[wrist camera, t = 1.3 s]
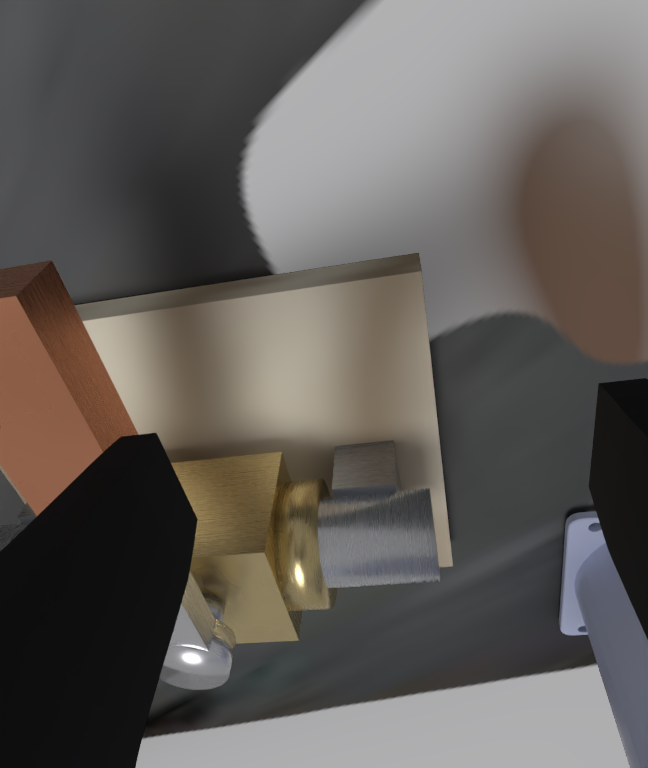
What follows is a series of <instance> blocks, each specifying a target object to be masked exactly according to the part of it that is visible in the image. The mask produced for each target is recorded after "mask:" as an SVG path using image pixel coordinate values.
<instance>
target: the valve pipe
mask: <svg viewBox="0 0 648 768" xmlns="http://www.w3.org/2000/svg"><path fill="white" fill-rule="evenodd" d="M171 464H172V466H173V469H174V471H175V473H176V475H177V477H178V479H179V481H180V483H181V485H182V488H183V490H184V492H185V494H186V496H187V498H188V500H189V502H190V504H191V506H192V509H193V511H194V513H195V515H196V517H197V519H198V520H197V527H196V534H195V541H194V548H193V555H192V560H191V566H190V572H191V574H192V576H193V578H194V579H195V581H196V583H197V585H198V587H199V589H200V591H201V593H202V595H203V597H204V598H205V600H206V602H207V604H208V606H209V608H210V610H211V612H212V614H213V616H214V618H215V619H217V620H220V621H221V622H223V623H225V624H226V625H227V626H229V627H230V628H231V629H232V631H233V632H234V634H235V636H236V643H256V642H278V641H299V636H300V626H301V616H302V610H319V609H332V608H333V606H334V604H335V600H336V595H337V588H341V587H357V586H374V585H390V584H406V583H423V582H439V581H440V571H439V562H438V553H437V544H436V536H435V527H434V519H433V510H432V502H431V494H430V488H422V489H410V490H402V487H401V481H400V475H399V469H398V463H397V457H396V451H395V445H394V440H390V441H380V442H370V443H360V444H350V445H340V446H335V453H334V467H333V481H332V492H333V495H334V496H330V492H329V489H328V486H327V484H326V482H325V480H324V479H322V478H319V479H308V480H298V481H291V479H290V476H289V473H288V469H287V466H286V463H285V460H284V457H283V454H282V452H275V453H265V454H255V455H245V456H235V457H226V458H216V459H206V460H196V461H186V462H176V463H171ZM36 517H37V516H36V514H35V513H34V511H33V510H32V509H31V507H30V506H29V504H28V503H26V505H25V507H24V508H23V510H22V511H21V513H20V515H19V516H18V518H19V520H20V521H21V522H22V523H21V524H9V525H0V551H1V550H2V549H3V548H4V547H5V546H7V545H8V544H9V543H10V542H11V541H12V540H13V539H14V538H15V537H16V536H17V535H18V534H19V533H20V532H21V531H22V530H23V529H24V528H25V527H26V526H27V525H29V524H30V523H31V522H32V521H33V520H34V519H35V518H36Z"/></svg>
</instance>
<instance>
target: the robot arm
mask: <svg viewBox="0 0 648 768" xmlns="http://www.w3.org/2000/svg"><path fill="white" fill-rule="evenodd" d="M589 489H590V492H591V495H592V499H593V502H594V506H595V509H596V511H592V512H579V513H575V514H572V515H570V516H569V517H568V518H567V520H566V524H565V539H564V554H563V568H562V583H561V598H560V613H559V626H560V629H561V632H562V633H564V634H566V635H588V636H589V639H590V642H591V645H592V649H593V652H594V655H595V658H596V661H597V664H598V667H599V671H600V674H601V677H602V680H603V683H604V686H605V689H606V692H607V696H608V699H609V702H610V705H611V708H612V712H613V715H614V718H615V721H616V724H617V727H618V730H619V734H620V737H621V740H622V743H623V746H624V750H625V753H626V756H627V759H628V762H629V765H630V768H648V379H646V378H644V379H635V380H626V381H617V382H608V383H599V387H598V397H597V407H596V418H595V428H594V438H593V449H592V459H591V469H590V480H589ZM197 520H198V519H197V517H196V515H195V513H194V511H193V509H192V506H191V504H190V502H189V500H188V498H187V496H186V494H185V492H184V490H183V488H182V485H181V483H180V481H179V479H178V477H177V475H176V473H175V471H174V469H173V466H172V464H171V462H170V460H169V458H168V456H167V454H166V452H165V450H164V447H163V445H162V443H161V441H160V439H159V437H158V435H157V433H149V434H140V435H131V436H122V437H120V438H119V439H118V440H116V441H115V442H114V443H113V444H112V445H111V446H109V447H108V448H107V449H106V450H105V451H104V452H103V453H102V454H101V455H100V456H99V457H98V458H96V459H95V460H94V461H93V462H92V463H91V464H90V465H89V466H88V467H87V468H86V469H85V470H84V471H83V472H82V473H81V474H80V475H79V476H78V477H77V478H76V479H75V480H74V481H73V482H72V483H71V484H70V485H69V486H68V487H67V488H66V489H65V490H64V491H63V492H61V493H60V494H59V495H58V496H57V497H56V498H55V499H54V500H53V501H52V502H51V503H50V504H49V505H48V506H47V507H46V508H45V509H44V510H43V511H42V512H41V513H40V514H39V515H38V516H37V517H36V518H35V519H34V520H33V521H32V522H31V523H30V524H29V525H27V526H26V527H25V528H24V529H23V530H22V531H21V532H20V533H19V534H18V535H17V536H16V537H15V538H14V539H13V540H12V541H11V542H10V543H9V544H8V545H7V546H5V547H4V548H3V549H2V550H1V551H0V768H135V766H136V761H137V756H138V752H139V748H140V744H141V740H142V737H143V733H144V729H145V725H146V721H147V718H148V714H149V711H150V708H151V704H152V701H153V697H154V694H155V691H156V687H157V684H158V681H159V677H160V674H161V671H162V667H163V664H164V661H165V657H166V654H167V651H168V647H169V644H170V641H171V637H172V634H173V631H174V627H175V624H176V620H177V617H178V613H179V610H180V607H181V603H182V600H183V596H184V593H185V589H186V585H187V582H188V578H189V572H190V566H191V560H192V555H193V548H194V541H195V534H196V527H197Z"/></svg>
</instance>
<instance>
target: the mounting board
mask: <svg viewBox="0 0 648 768" xmlns="http://www.w3.org/2000/svg"><path fill="white" fill-rule="evenodd" d="M74 306H75V308H76V310H77V312H78V314H79V316H80V318H81V320H82V322H83V324H84V326H85V328H86V330H87V332H88V334H89V336H90V338H91V340H92V342H93V344H94V346H95V348H96V350H97V352H98V354H99V356H100V358H101V360H102V362H103V364H104V366H105V368H106V370H107V372H108V374H109V376H110V378H111V380H112V382H113V384H114V386H115V388H116V390H117V392H118V394H119V396H120V398H121V400H122V402H123V404H124V406H125V408H126V410H127V412H128V414H129V416H130V418H131V420H132V422H133V424H134V426H135V428H136V430H137V432H138V434H139V435H140V434H149V433H157V435H158V437H159V439H160V441H161V443H162V445H163V447H164V450H165V452H166V454H167V456H168V458H169V460H170V462H171V463H176V462H186V461H196V460H206V459H216V458H226V457H235V456H245V455H255V454H265V453H275V452H282V454H283V457H284V460H285V463H286V466H287V469H288V473H289V476H290V479H291V481H298V480H308V479H319V478H322V479H324V480H325V482H326V484H327V486H328V489H329V492H330V496H334V495H333V492H332V481H333V467H334V453H335V446H340V445H350V444H360V443H370V442H380V441H390V440H394V445H395V451H396V457H397V463H398V469H399V475H400V481H401V487H402V490H410V489H422V488H430V494H431V502H432V510H433V519H434V527H435V536H436V544H437V553H438V562H439V567H449V566H453V563H452V554H451V544H450V535H449V526H448V516H447V507H446V497H445V488H444V478H443V469H442V459H441V450H440V440H439V431H438V421H437V412H436V402H435V393H434V383H433V374H432V365H431V355H430V346H429V336H428V327H427V317H426V308H425V298H424V289H423V280H422V271H421V264H420V258H419V253H415V254H408V255H402V256H395V257H389V258H382V259H375V260H368V261H363V262H356V263H349V264H343V265H336V266H329V267H323V268H317V269H309V270H303V271H297V272H290V273H284V274H277V275H270V276H263V277H257V278H250V279H244V280H237V281H231V282H224V283H218V284H211V285H204V286H198V287H191V288H185V289H178V290H172V291H165V292H158V293H152V294H145V295H139V296H132V297H126V298H119V299H113V300H106V301H99V302H93V303H86V304H80V305H74ZM0 469H1V471H2V472H3V473H4V475H5V476H6V478H7V479H8V481H9V482H10V483H11V485H12V486H13V488H14V489H15V490H16V492H17V493H18V495H19V496H20V497H21V499H22V500H23V502H24V503H25V504H26V503H27V501H26V500H25V499H24V497H23V496H22V494H21V493H20V492H19V490H18V489H17V487H16V486H15V484H14V483H13V482H12V480H11V479H10V477H9V476H8V475H7V473H6V472H5V470H4V469H3V468H2V466H1V465H0Z"/></svg>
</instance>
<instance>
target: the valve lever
mask: <svg viewBox="0 0 648 768" xmlns="http://www.w3.org/2000/svg"><path fill="white" fill-rule="evenodd" d="M131 435H139V434H138V432H137V430H136V428H135V426H134V424H133V422H132V420H131V418H130V416H129V414H128V412H127V410H126V408H125V406H124V404H123V402H122V400H121V398H120V396H119V394H118V392H117V390H116V388H115V386H114V384H113V382H112V380H111V378H110V376H109V374H108V372H107V370H106V368H105V366H104V364H103V362H102V360H101V358H100V356H99V354H98V352H97V350H96V348H95V346H94V344H93V342H92V340H91V338H90V336H89V334H88V332H87V330H86V328H85V326H84V324H83V322H82V320H81V318H80V316H79V314H78V312H77V310H76V308H75V306H74V304H73V302H72V300H71V298H70V296H69V294H68V292H67V290H66V288H65V286H64V284H63V282H62V280H61V278H60V276H59V274H58V272H57V270H56V268H55V266H54V264H53V262H52V261H46V262H40V263H34V264H28V265H22V266H16V267H10V268H4V269H0V465H1V466H2V468H3V469H4V470H5V472H6V473H7V475H8V476H9V477H10V479H11V480H12V482H13V483H14V484H15V486H16V487H17V489H18V490H19V492H20V493H21V494H22V496H23V497H24V499H25V500H26V501H27V503H28V504H29V506H30V507H31V509H32V510H33V511H34V513H35V514H36V516H38V515H39V514H40V513H41V512H42V511H43V510H44V509H45V508H46V507H47V506H48V505H49V504H50V503H51V502H52V501H53V500H54V499H55V498H56V497H57V496H58V495H59V494H60V493H61V492H63V491H64V490H65V489H66V488H67V487H68V486H69V485H70V484H71V483H72V482H73V481H74V480H75V479H76V478H77V477H78V476H79V475H80V474H81V473H82V472H83V471H84V470H85V469H86V468H87V467H88V466H89V465H90V464H91V463H92V462H93V461H94V460H95V459H96V458H98V457H99V456H100V455H101V454H102V453H103V452H104V451H105V450H106V449H107V448H108V447H109V446H111V445H112V444H113V443H114V442H115V441H116V440H118V439H119V438H120V437H122V436H131ZM235 643H236V636H235V634H234V632H233V631H232V629H231V628H230V627H229V626H227V625H226V624H225V623H223V622H221V621H220V620H217V619H215V618H214V616H213V614H212V612H211V610H210V608H209V606H208V604H207V602H206V600H205V598H204V597H203V595H202V593H201V591H200V589H199V587H198V585H197V583H196V581H195V579H194V578H193V576H192V574H191V572H189V578H188V582H187V585H186V589H185V593H184V596H183V600H182V603H181V607H180V610H179V613H178V617H177V620H176V624H175V627H174V631H173V634H172V637H171V641H170V644H169V647H168V651H167V654H166V657H165V661H164V664H163V667H162V671H161V674H160V677H159V678H160V679H161V680H163V681H165V682H167V683H169V684H171V685H174V686H177V687H181V688H186V689H195V690H204V689H211V688H215V687H218V686H220V685H222V684H224V683H225V682H226V681H227V680H228V678H229V674H230V669H231V664H232V658H233V653H234V648H235Z"/></svg>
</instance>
